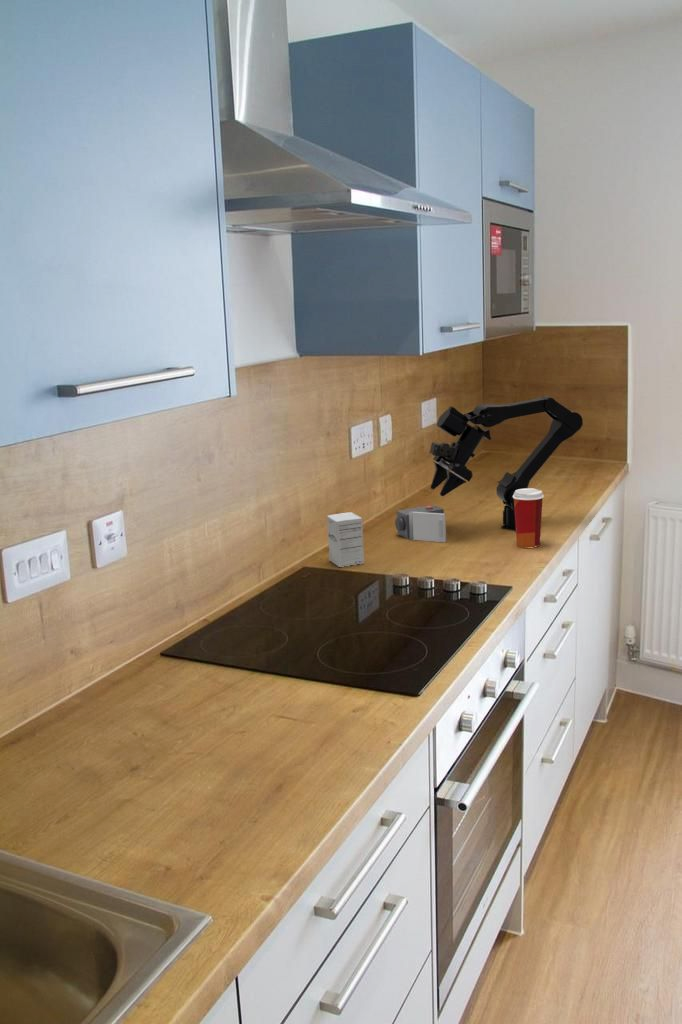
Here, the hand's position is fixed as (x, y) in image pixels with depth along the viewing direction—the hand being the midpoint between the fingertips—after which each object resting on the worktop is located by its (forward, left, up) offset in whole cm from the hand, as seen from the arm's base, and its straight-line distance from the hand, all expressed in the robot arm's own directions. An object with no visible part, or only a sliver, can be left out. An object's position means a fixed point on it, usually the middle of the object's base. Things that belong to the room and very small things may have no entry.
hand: (436, 492), depth 251 cm
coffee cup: (-27, -5, -13) cm, 30 cm away
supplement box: (+5, +33, -13) cm, 36 cm away
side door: (-1, +6, -13) cm, 14 cm away
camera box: (+6, +1, -13) cm, 14 cm away
